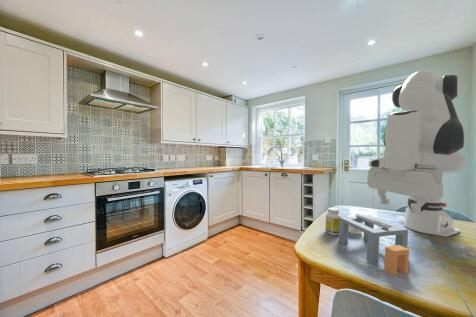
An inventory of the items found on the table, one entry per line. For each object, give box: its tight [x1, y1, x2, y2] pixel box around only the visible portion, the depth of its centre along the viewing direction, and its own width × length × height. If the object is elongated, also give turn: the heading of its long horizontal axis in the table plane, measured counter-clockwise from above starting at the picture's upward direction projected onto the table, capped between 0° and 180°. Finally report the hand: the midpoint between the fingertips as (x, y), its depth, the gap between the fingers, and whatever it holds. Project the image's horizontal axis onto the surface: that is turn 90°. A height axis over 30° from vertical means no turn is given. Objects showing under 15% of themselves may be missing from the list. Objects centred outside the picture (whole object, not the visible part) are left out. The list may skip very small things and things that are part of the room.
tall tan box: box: [383, 244, 410, 276], centre depth 63 cm, size 6×3×8 cm, turn 103°
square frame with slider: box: [338, 213, 409, 263], centre depth 77 cm, size 15×16×12 cm
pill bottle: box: [325, 207, 342, 236], centre depth 92 cm, size 6×6×11 cm
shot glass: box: [346, 214, 364, 235], centre depth 94 cm, size 7×7×7 cm
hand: (398, 207), depth 62 cm, fingers open, 8 cm apart
